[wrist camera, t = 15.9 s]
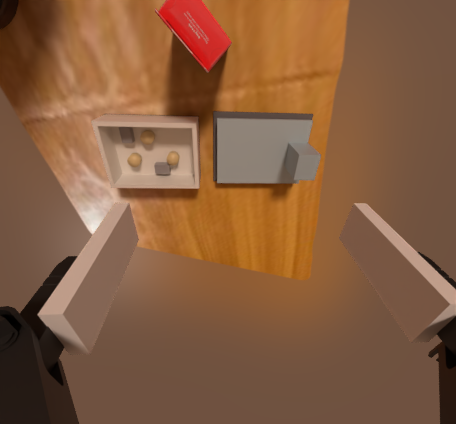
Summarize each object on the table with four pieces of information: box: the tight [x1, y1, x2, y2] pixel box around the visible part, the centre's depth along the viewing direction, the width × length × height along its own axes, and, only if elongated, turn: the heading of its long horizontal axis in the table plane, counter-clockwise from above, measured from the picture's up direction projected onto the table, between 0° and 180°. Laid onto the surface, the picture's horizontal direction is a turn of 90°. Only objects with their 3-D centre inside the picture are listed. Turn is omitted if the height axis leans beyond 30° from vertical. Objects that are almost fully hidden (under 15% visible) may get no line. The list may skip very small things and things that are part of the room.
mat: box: [213, 111, 313, 181], centre depth 48 cm, size 20×15×1 cm
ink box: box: [155, 0, 232, 73], centre depth 31 cm, size 8×5×15 cm, turn 44°
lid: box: [217, 118, 321, 183], centre depth 45 cm, size 19×14×9 cm
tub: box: [91, 114, 201, 189], centre depth 45 cm, size 18×13×6 cm
